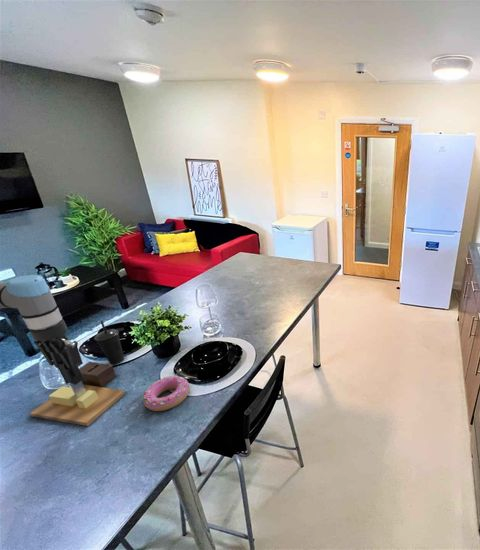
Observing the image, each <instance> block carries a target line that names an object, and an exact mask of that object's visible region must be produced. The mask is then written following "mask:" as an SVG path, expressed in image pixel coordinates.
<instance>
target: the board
mask: <svg viewBox="0 0 480 550" xmlns="http://www.w3.org/2000/svg"><path fill="white" fill-rule="evenodd" d="M83 385H84V384H83ZM84 387H85V389H86V392H87V391H88V390H92V391H95V392H96V394H97V396H98V399H97V400H96V401H95V402H93V403H92V404H91V405H90V406H88V407H87V408H86V409H85V408H79V406H78V404H77V403H76V404H75V405H74V406H66V405H60V404H54V403H52V401H51V399H50V398H49V399H48V400H46V401H44V402H43V403H41V405H39V406H37V407H36V408H35V409H33V410H32V411H31V412H29V415H30V417H32V418H33V417H34V418H38V419H39V418H40V419H44V420H45V419H46V420H50V421H57V422H62V423H69V424H74V425H81V426H84V427H85V426H87V427H89V425H91V424H93V422H95V420H97V419H98V418H99V417H100V416H101V415H103V414H104V413H105V412H106V411H107V410H108V409H109V408H111V406H113V405H114V404H115V403H116V402H118V401H119V400H120V399H121V398H122V397H123V396H125V395H126V392H125V390H122V389H114V388H110V387H104V386H103V387H97V386H90V385H84Z"/></svg>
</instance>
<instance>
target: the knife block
mask: <svg viewBox="0 0 480 550" xmlns="http://www.w3.org/2000/svg"><path fill="white" fill-rule="evenodd" d="M78 368H79V370H80V372H81V374H82V376H83V380H82V383H83V384H84V385H90V386H97V387H103V388H104V387H105V386H106V385H107V384H109V383H110V382H111V381H113V380H114V379H115V378H117V374H116V372H115V370H114V367H113V364H110V363H109V364H108V363H103V362H94V361H88V362H87V363H85V364H84V365H82V366H80V367H78Z"/></svg>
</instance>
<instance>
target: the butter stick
mask: <svg viewBox="0 0 480 550" xmlns="http://www.w3.org/2000/svg"><path fill="white" fill-rule="evenodd" d="M48 398H49V399H51V401H52V403H54V404H60V405H66V406H74V405H75V404H76V403H77V402H76V399H77V398H76V396H75V394H74V392H73V390H72V388H71V387H68V386H64V385H62V386H61V387H59V388H58V389H56V390H55V391H53V392H52V393H50V394H49V395H48Z"/></svg>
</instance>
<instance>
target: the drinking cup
mask: <svg viewBox="0 0 480 550" xmlns="http://www.w3.org/2000/svg"><path fill="white" fill-rule="evenodd" d="M100 324H101V327H102V329H103V331H101V332H99V333H97V334H96V335H95V336H94V340H95V342H97V344H98V345H99V347H100V349H101V351H102V352H103V354H104V356H105V358H106V359H107V361H108V363H109V365H117V364H120V363H122V362H123V361H124V360H125V356H124V351H123V347H122V343H121V339H120V335H119V334H120V331H119V330H118V329H116V328H110V329H107V328H106V327H105V323H104V321H103V320H101V321H100Z"/></svg>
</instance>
